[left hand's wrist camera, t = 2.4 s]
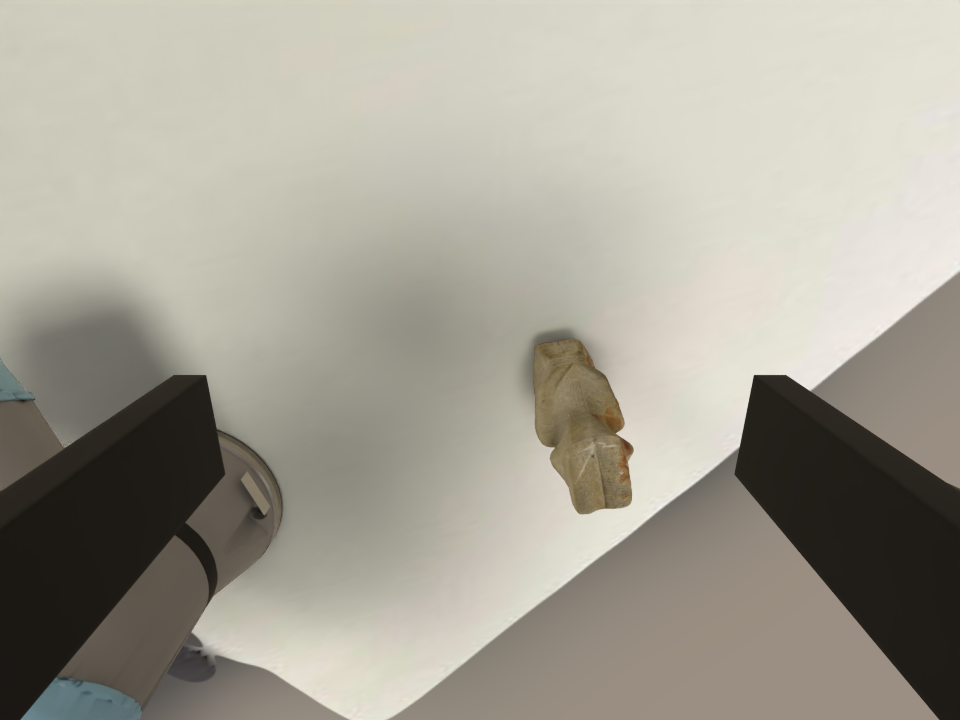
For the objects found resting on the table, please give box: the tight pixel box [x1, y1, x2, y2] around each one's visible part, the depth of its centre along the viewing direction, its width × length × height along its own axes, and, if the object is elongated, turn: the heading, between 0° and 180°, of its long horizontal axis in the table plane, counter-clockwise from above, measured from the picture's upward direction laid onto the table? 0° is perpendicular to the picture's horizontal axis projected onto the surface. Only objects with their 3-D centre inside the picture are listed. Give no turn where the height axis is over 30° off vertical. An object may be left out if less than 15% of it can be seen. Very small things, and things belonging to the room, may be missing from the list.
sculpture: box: [533, 339, 633, 514], centre depth 36 cm, size 6×7×15 cm
